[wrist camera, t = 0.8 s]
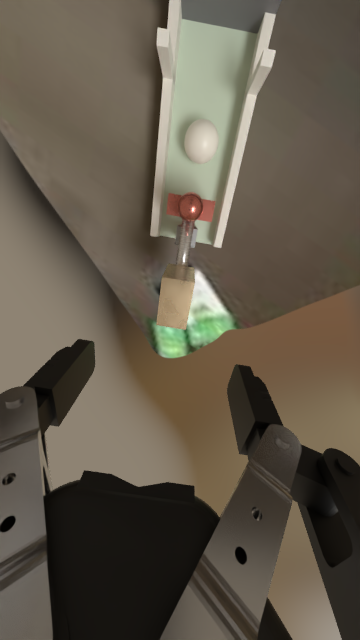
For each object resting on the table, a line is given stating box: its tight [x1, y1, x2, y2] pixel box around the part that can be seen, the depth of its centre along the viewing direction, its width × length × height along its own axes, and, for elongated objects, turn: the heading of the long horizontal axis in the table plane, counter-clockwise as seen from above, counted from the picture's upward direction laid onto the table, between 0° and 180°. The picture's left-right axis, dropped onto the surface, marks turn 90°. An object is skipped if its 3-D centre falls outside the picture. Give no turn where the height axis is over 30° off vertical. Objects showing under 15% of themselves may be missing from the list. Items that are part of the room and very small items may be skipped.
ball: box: [184, 119, 219, 164], centre depth 24 cm, size 4×4×4 cm
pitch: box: [150, 0, 282, 248], centre depth 23 cm, size 22×10×8 cm, turn 171°
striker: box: [157, 192, 216, 330], centre depth 24 cm, size 12×5×14 cm, turn 171°
